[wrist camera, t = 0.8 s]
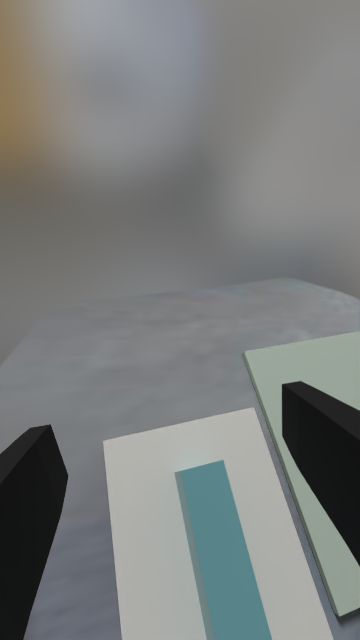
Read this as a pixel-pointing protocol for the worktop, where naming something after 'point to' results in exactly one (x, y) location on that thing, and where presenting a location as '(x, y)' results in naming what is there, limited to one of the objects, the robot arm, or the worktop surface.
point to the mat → (267, 377)
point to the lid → (207, 536)
